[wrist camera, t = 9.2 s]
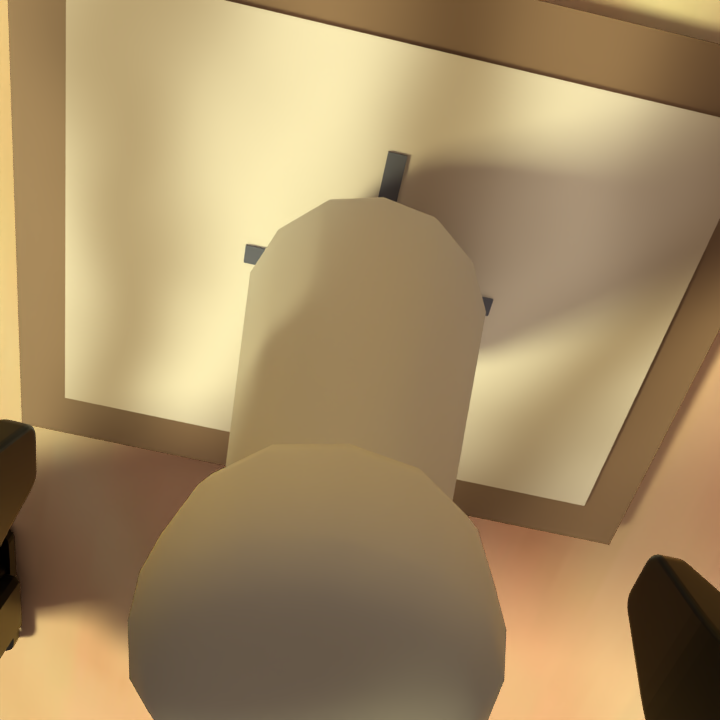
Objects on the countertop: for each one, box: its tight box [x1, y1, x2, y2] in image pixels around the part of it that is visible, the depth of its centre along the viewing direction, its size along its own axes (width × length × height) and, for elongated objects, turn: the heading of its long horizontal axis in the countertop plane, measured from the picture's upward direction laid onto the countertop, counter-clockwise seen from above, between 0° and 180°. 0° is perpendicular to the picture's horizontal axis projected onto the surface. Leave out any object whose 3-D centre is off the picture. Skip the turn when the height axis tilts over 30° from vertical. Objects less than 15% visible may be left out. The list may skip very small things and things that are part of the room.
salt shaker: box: [128, 197, 506, 720], centre depth 12 cm, size 6×6×13 cm
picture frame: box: [8, 0, 720, 545], centre depth 19 cm, size 20×15×1 cm
